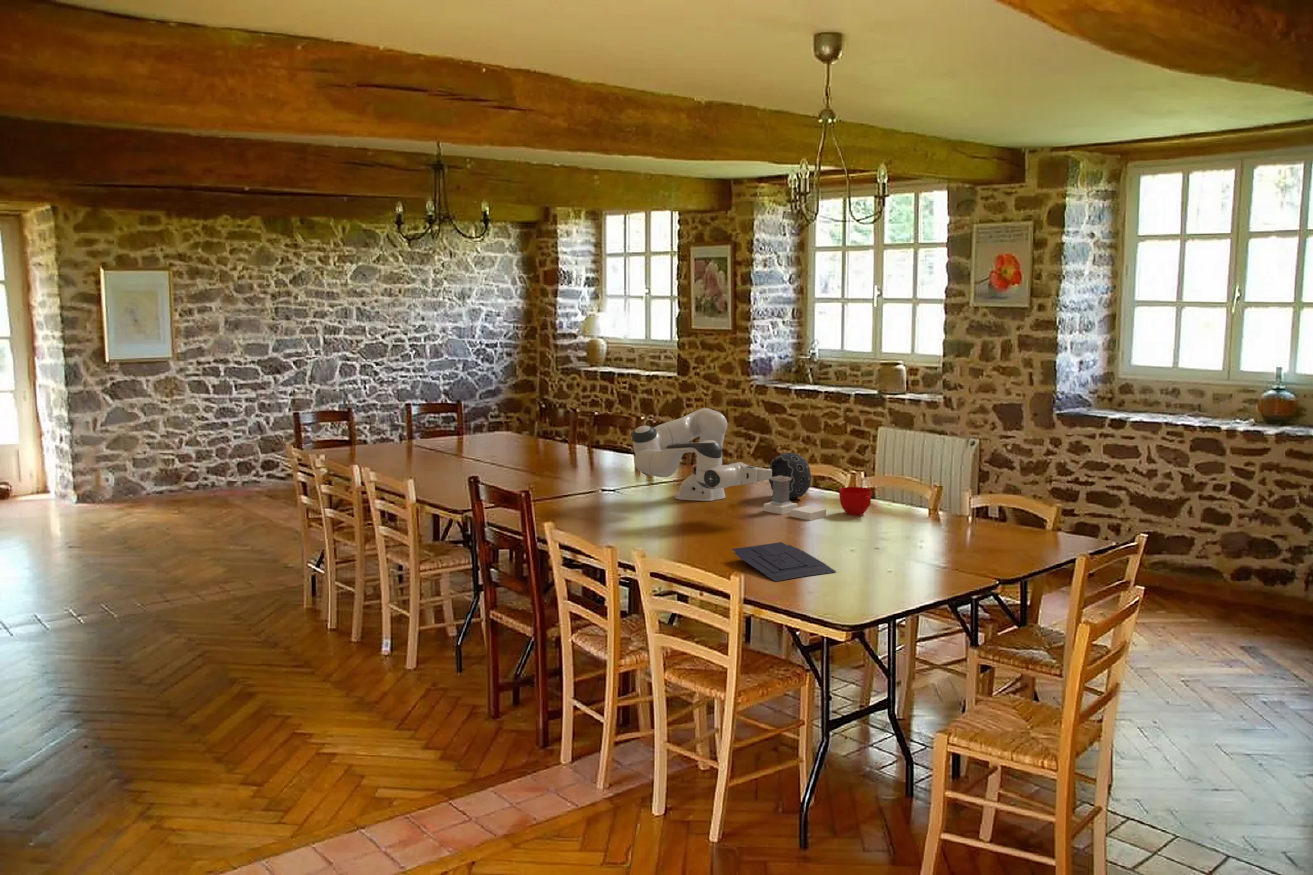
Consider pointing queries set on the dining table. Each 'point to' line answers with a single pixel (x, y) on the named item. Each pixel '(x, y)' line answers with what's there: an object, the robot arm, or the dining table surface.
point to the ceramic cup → (855, 500)
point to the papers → (781, 561)
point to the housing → (781, 490)
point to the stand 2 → (808, 513)
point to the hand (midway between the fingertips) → (761, 469)
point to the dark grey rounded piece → (792, 473)
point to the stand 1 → (779, 508)
